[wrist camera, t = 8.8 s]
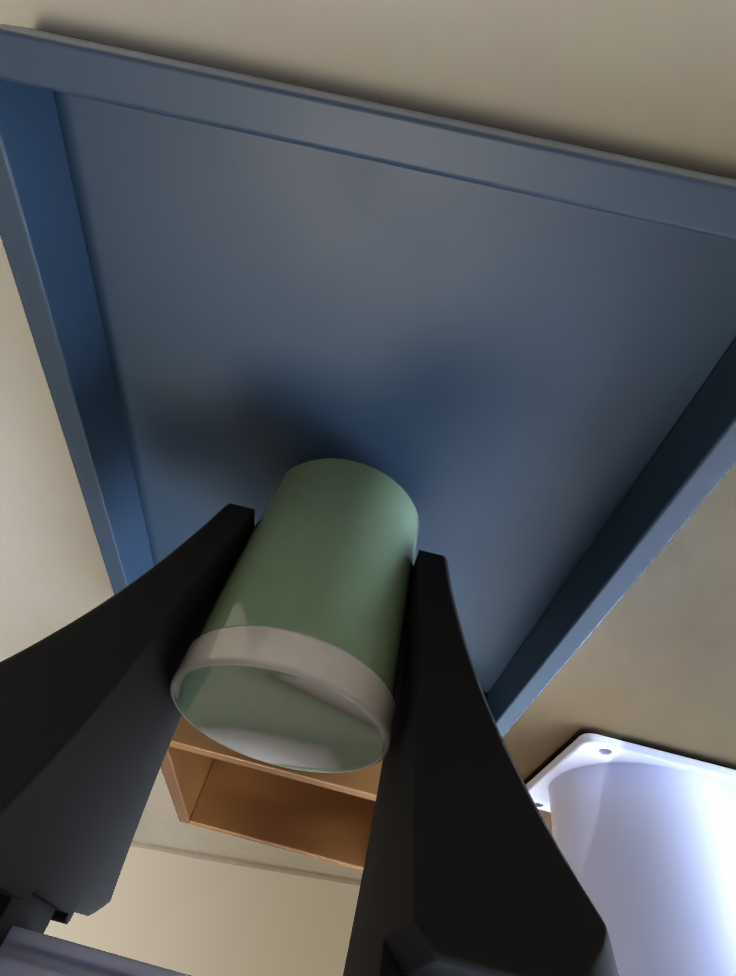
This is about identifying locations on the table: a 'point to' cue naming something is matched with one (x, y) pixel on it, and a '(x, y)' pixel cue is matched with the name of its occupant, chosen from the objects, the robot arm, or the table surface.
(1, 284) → the table surface
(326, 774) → the open wooden box
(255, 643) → the shaker
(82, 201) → the tray
